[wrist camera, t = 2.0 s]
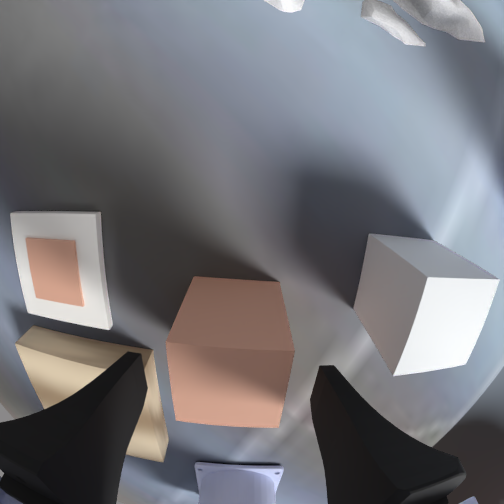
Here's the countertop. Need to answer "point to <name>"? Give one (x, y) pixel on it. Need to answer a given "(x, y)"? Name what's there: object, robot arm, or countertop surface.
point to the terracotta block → (230, 353)
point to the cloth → (418, 6)
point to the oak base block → (91, 379)
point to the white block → (421, 303)
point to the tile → (62, 265)
